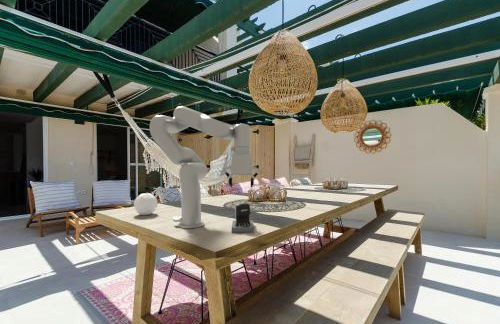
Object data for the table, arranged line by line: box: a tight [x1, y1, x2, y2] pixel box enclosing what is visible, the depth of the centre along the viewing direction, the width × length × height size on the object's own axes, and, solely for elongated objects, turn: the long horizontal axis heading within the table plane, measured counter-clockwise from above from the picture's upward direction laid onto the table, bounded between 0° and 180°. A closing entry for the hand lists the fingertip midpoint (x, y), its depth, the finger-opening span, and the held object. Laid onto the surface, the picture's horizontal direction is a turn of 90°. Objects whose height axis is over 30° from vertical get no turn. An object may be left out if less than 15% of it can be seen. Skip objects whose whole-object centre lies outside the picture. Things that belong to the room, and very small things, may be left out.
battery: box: [234, 202, 251, 227], centre depth 123 cm, size 7×4×11 cm, turn 115°
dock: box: [231, 219, 255, 234], centre depth 124 cm, size 10×13×2 cm
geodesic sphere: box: [133, 192, 158, 216], centre depth 158 cm, size 14×14×14 cm
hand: (241, 186), depth 123 cm, fingers open, 9 cm apart
